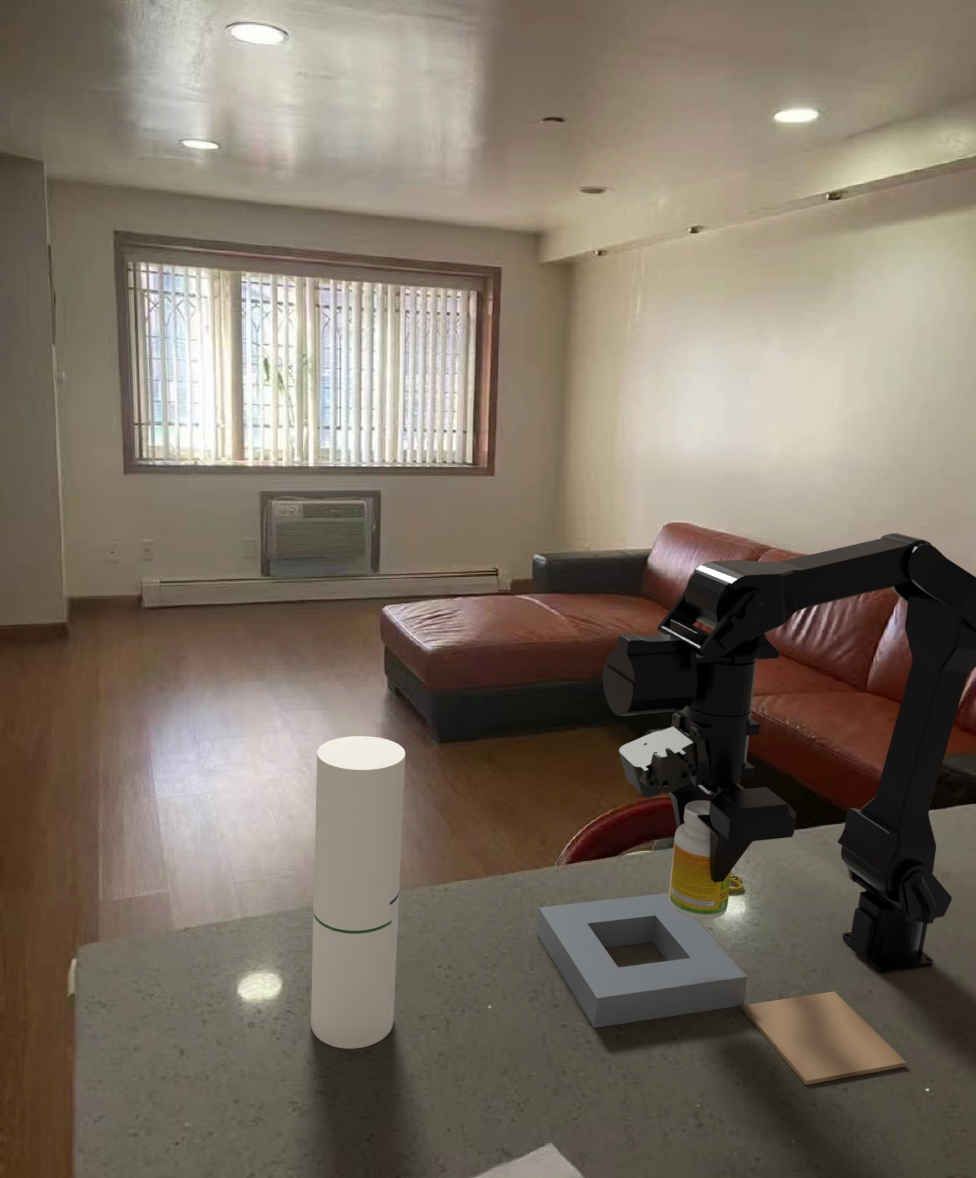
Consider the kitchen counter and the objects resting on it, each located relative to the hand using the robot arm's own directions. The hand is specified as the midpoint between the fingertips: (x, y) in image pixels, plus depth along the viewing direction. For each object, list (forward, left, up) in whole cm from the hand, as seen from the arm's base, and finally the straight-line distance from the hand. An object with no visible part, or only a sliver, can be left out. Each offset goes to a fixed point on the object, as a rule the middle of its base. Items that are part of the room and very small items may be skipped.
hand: (702, 865), depth 91 cm
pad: (-8, +9, -13) cm, 18 cm away
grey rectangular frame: (+4, -4, -13) cm, 14 cm away
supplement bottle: (0, 0, -4) cm, 4 cm away
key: (-10, -16, -13) cm, 23 cm away
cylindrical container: (+32, -2, -13) cm, 34 cm away
